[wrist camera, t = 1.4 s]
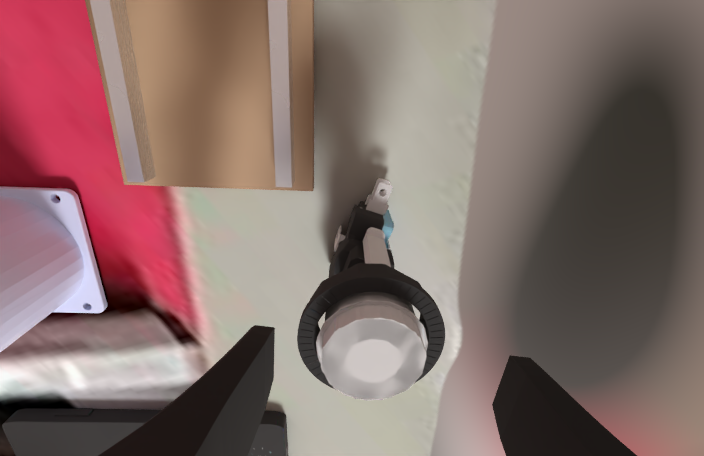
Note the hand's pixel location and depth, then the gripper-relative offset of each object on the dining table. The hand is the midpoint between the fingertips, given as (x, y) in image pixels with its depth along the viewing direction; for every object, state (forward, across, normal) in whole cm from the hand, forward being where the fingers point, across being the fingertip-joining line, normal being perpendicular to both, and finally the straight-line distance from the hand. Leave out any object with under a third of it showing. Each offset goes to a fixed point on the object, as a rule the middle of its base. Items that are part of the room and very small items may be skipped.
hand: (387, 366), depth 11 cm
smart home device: (+10, +15, +20) cm, 27 cm away
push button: (+11, +1, 0) cm, 11 cm away
